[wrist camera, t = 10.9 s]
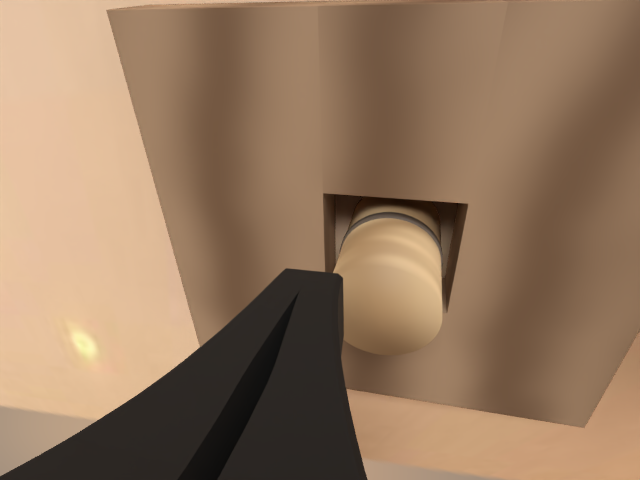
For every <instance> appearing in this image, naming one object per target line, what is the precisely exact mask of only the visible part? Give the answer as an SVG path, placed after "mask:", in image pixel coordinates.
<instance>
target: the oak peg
mask: <svg viewBox="0 0 640 480" xmlns="http://www.w3.org/2000/svg"><path fill="white" fill-rule="evenodd" d="M442 265H443V262H442V248H441V230H440V217H439V214H438V211H437V209H436V207H435V206H434V204H433V203H432V202H431V201H425V200H411V199H397V198H383V197H369V196H364V197H363V198H362V199H361V200H360V202H359V203H358V204H357V206H356V208H355V210H354V213H353V216H352V219H351V222H350V225H349V228H348V231H347V233H346V234H345V236H344V239H343V241H342V244H341V248H340V254H339V257H338V260H337V263H336V266H335V269H334V272H333V273H338V274H339V275H341V276H342V277H343V302H344V338H343V340H345V341H346V342H347V343H349V344H351V345H352V346H354V347H356V348H358V349H361V350H363V351H366V352H370V353H374V354H379V355H402V354H407V353H411V352H414V351H417V350H419V349H421V348H423V347H424V346H426V345H428V344H429V343H430V342H431V341H432V340H433V339H434V338H435V337H436V335H437V334H438V332H439V330H440V327H441V324H442V275H441V270H442Z"/></svg>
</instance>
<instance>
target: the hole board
mask: <svg viewBox="0 0 640 480" xmlns="http://www.w3.org/2000/svg"><path fill="white" fill-rule="evenodd" d="M107 14H108V17H109V21H110V25H111V28H112V32H113V35H114V39H115V43H116V46H117V50H118V53H119V57H120V61H121V64H122V68H123V71H124V75H125V79H126V82H127V86H128V89H129V93H130V97H131V100H132V104H133V107H134V111H135V115H136V118H137V122H138V125H139V129H140V133H141V136H142V140H143V143H144V147H145V151H146V154H147V158H148V161H149V165H150V169H151V172H152V176H153V179H154V183H155V187H156V190H157V194H158V197H159V201H160V205H161V208H162V212H163V215H164V219H165V223H166V226H167V230H168V233H169V237H170V241H171V244H172V248H173V251H174V255H175V259H176V262H177V266H178V269H179V273H180V277H181V280H182V284H183V287H184V291H185V295H186V298H187V302H188V305H189V309H190V313H191V316H192V320H193V323H194V327H195V331H196V334H197V338H198V342H199V345H200V347H201V346H202V345H203V344H205V343H206V342H207V341H208V340H209V339H211V338H212V337H213V336H214V335H215V334H216V333H218V332H219V331H220V330H221V329H222V328H223V327H224V326H225V325H227V324H228V323H229V322H230V321H231V320H232V319H233V318H234V317H235V316H236V315H237V314H239V313H240V312H241V311H242V310H243V309H244V308H245V307H246V306H247V305H248V304H249V303H250V302H251V301H252V300H253V299H254V298H256V297H257V296H258V295H259V294H260V293H261V292H262V291H263V290H264V289H265V288H266V287H267V286H268V285H269V284H270V283H271V282H272V281H273V280H274V279H275V278H276V277H277V276H278V275H279V274H280V273H281V272H282V271H283V270H285V269H286V268H290V269H300V270H310V271H320V272H330V273H333V272H334V269H335V266H336V263H335V194H341V195H355V196H369V197H383V198H397V199H411V200H425V201H439V202H453V203H458V208H457V213H456V219H455V224H454V230H453V235H452V241H451V247H450V252H449V258H448V263H447V269H446V275H445V278H442V324H441V327H440V330H439V332H438V334H437V335H436V337H435V338H434V339H433V340H432V341H431V342H430V343H429V344H428V345H426V346H424V347H423V348H421V349H419V350H417V351H414V352H411V353H407V354H402V355H379V354H374V353H370V352H366V351H363V350H361V349H358V348H356V347H354V346H352V345H351V344H349V343H347V342H346V341H345V340H343V346H342V354H341V360H342V367H343V374H344V380H345V386H346V389H352V390H358V391H364V392H370V393H376V394H382V395H388V396H394V397H401V398H407V399H413V400H419V401H425V402H431V403H437V404H443V405H449V406H455V407H461V408H467V409H473V410H479V411H485V412H492V413H498V414H504V415H510V416H516V417H522V418H528V419H534V420H540V421H546V422H552V423H558V424H564V425H570V426H576V427H582V428H584V427H585V426H586V424H587V422H588V420H589V419H590V417H591V415H592V413H593V412H594V410H595V408H596V406H597V405H598V403H599V401H600V399H601V397H602V396H603V394H604V392H605V390H606V389H607V387H608V385H609V383H610V382H611V380H612V378H613V376H614V375H615V373H616V371H617V369H618V368H619V366H620V364H621V362H622V360H623V359H624V357H625V355H626V353H627V352H628V350H629V348H630V346H631V345H632V343H633V341H634V339H635V338H636V336H637V334H638V332H639V331H640V0H356V1H310V2H264V3H218V4H172V5H144V6H136V7H127V8H119V9H111V10H107Z"/></svg>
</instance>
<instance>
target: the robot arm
mask: <svg viewBox="0 0 640 480" xmlns="http://www.w3.org/2000/svg"><path fill="white" fill-rule="evenodd" d="M343 338H344V302H343V277H342V276H341V275H339V274H338V273H330V272H320V271H310V270H300V269H290V268H286V269H285V270H283V271H282V272H281V273H280V274H279V275H278V276H277V277H276V278H275V279H274V280H273V281H272V282H271V283H270V284H269V285H268V286H267V287H266V288H265V289H264V290H263V291H262V292H261V293H260V294H259V295H258V296H257V297H256V298H254V299H253V300H252V301H251V302H250V303H249V304H248V305H247V306H246V307H245V308H244V309H243V310H242V311H241V312H240V313H239V314H237V315H236V316H235V317H234V318H233V319H232V320H231V321H230V322H229V323H228V324H227V325H225V326H224V327H223V328H222V329H221V330H220V331H219V332H218V333H216V334H215V335H214V336H213V337H212V338H211V339H209V340H208V341H207V342H206V343H205V344H203V345H202V346H201V347H200V348H199V349H197V350H196V351H195V352H194V353H193V354H191V355H190V356H189V357H188V358H187V359H185V360H184V361H183V362H181V363H180V364H179V365H178V366H176V367H175V368H174V369H172V370H171V371H170V372H168V373H167V374H166V375H164V376H163V377H162V378H160V379H159V380H158V381H156V382H155V383H153V384H152V385H151V386H149V387H148V388H146V389H145V390H144V391H142V392H141V393H139V394H138V395H137V396H135V397H134V398H132V399H130V400H129V401H127V402H126V403H124V404H123V405H121V406H120V407H118V408H117V409H115V410H113V411H112V412H110V413H109V414H107V415H105V416H104V417H102V418H101V419H99V420H98V421H96V422H94V423H93V424H91V425H90V426H88V427H86V428H85V429H83V430H82V431H80V432H79V433H77V434H75V435H74V436H72V437H70V438H68V439H67V440H65V441H63V442H62V443H60V444H58V445H56V446H55V447H53V448H51V449H49V450H48V451H46V452H44V453H42V454H41V455H39V456H37V457H35V458H33V459H31V460H30V461H28V462H26V463H24V464H23V465H20V466H19V467H17V468H15V469H13V470H11V471H9V472H8V473H6V474H4V475H2V476H0V480H367V477H366V473H365V470H364V466H363V462H362V458H361V454H360V450H359V446H358V442H357V438H356V434H355V429H354V425H353V421H352V416H351V412H350V407H349V402H348V397H347V391H346V386H345V380H344V374H343V367H342V360H341V354H342V346H343Z"/></svg>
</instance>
